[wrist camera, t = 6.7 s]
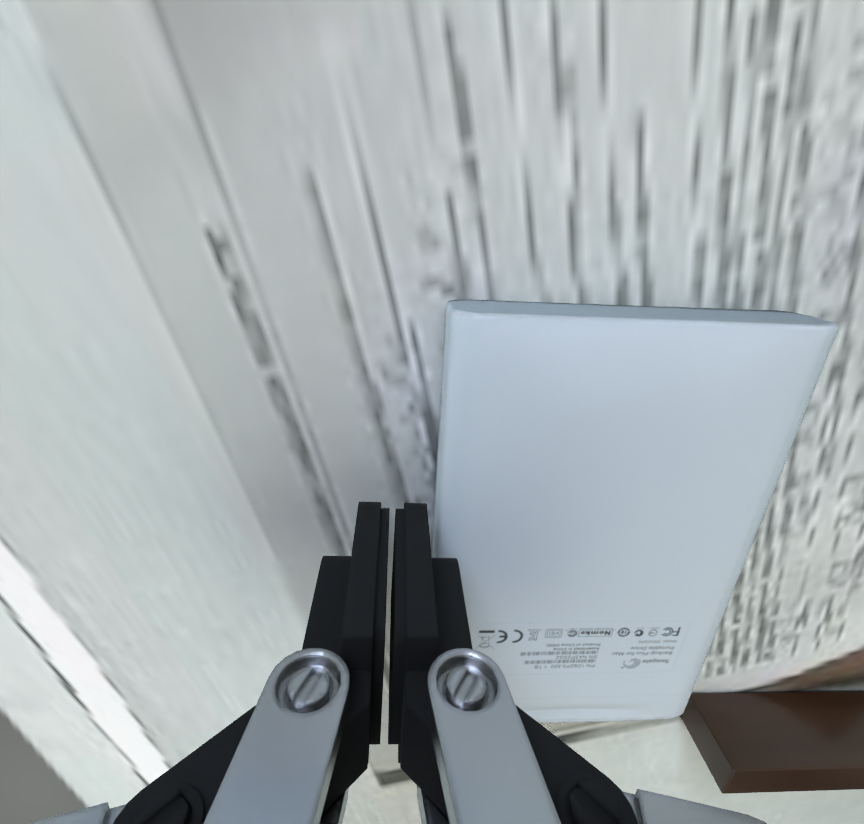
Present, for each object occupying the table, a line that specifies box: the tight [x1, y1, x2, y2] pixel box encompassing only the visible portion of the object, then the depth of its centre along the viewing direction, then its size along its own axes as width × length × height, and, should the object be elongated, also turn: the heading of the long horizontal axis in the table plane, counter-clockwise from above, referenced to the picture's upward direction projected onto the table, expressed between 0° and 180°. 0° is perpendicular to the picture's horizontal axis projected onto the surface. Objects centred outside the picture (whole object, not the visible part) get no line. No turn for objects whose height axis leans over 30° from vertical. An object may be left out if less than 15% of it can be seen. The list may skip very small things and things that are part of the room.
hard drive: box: [431, 300, 838, 723], centre depth 13 cm, size 2×8×12 cm
